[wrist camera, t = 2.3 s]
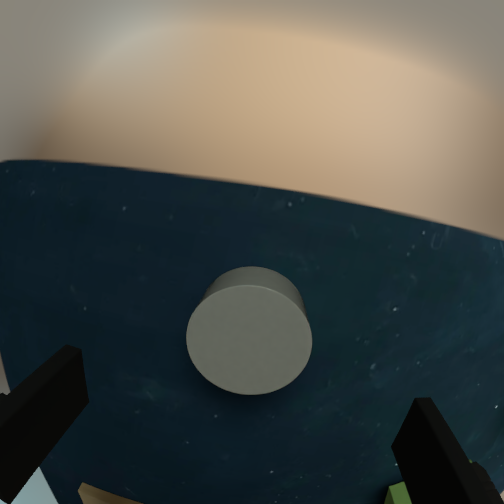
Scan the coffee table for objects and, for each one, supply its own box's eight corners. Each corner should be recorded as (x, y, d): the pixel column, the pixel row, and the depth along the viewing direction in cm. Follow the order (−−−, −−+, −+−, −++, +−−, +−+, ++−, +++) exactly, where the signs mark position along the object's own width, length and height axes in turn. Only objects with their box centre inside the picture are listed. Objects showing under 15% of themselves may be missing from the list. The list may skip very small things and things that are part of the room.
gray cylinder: (196, 354, 20) (183, 384, 17) (204, 258, 19) (190, 275, 15) (295, 368, 20) (298, 401, 16) (314, 274, 18) (324, 295, 15)
